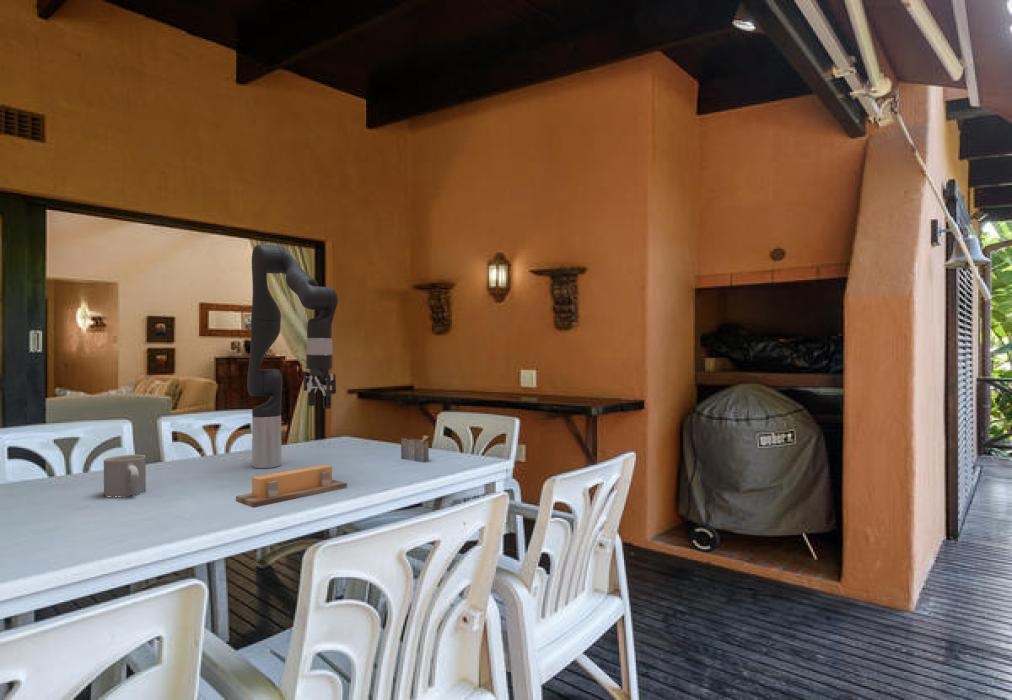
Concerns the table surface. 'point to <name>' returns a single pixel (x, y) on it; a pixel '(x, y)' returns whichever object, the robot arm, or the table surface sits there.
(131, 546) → the table surface
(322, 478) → the brown wooden bar holder
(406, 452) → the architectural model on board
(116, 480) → the coffee mug
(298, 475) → the orange wooden bar
